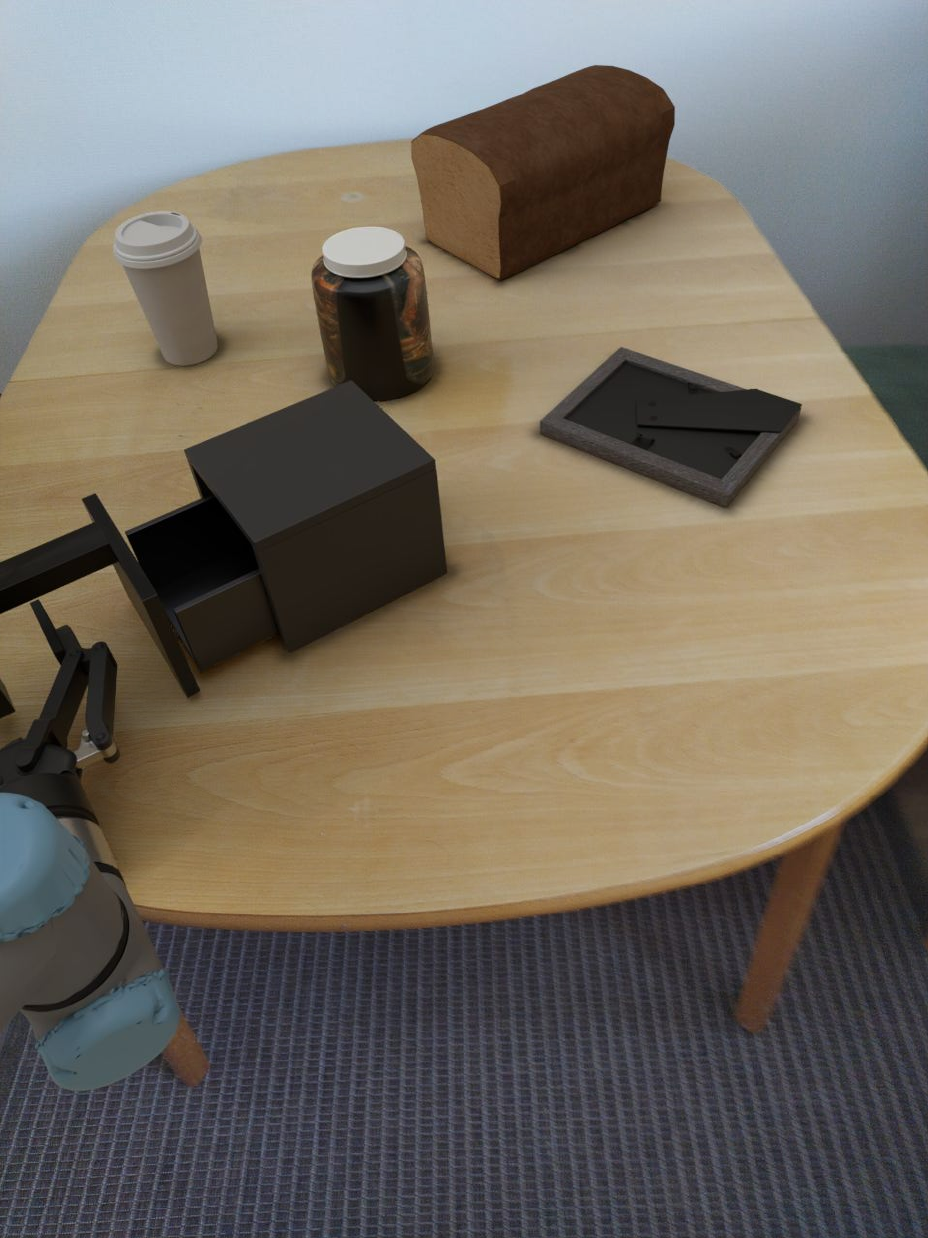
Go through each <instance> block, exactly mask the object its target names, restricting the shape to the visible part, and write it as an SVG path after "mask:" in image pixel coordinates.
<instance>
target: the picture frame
mask: <svg viewBox="0 0 928 1238" xmlns="http://www.w3.org/2000/svg"><path fill="white" fill-rule="evenodd" d="M802 405H803V404H802V403H800V402H797V401H794V400H792V399H788V398H785V397H782V396H779V395H776V394H773V393H770V392H767V391H764V390H762V389H758V388H748V389H747V388H744V387H741V386H738V385H736V384H732V383H729V382H727V381H724V380H721V379H718V378H714V377H712V376H708V375H705V374H703V373H701V372H700V373H699V372H697V371H694V370H692V369H688V368H685V367H681V366H679V365H676V364H673V363H670V362H667V361H665V360H661V359H658V358H656V357H652V356H649V355H646V354H643V353H641V352H637V351H634V350H631V349H628V348H625V347H622V346H620V347H619V348H618V349H617V350H615V351H614V352H613V354H612V355H610V356H609V357H608V358H607V359H606V360H605V361H604V362H603V363H601V364H600V365H599V366H597V368H596V369H595V370H594V371H593V372H591V374H590V375H589V376H587V378H586V379H585V378H584V380H583V381H582V382H581V383H580V384H579V385H577V387H575V388H574V389H573V390H572V391H571V392H570V393H569V394H567V396H565V397H564V399H562V400H561V401H560V402H559V403H558V404H557V405H555V407H553V409H551V410H550V411H549V412H548V413H547V414H546V415H544V417H542V419H541V420H539V434H540V435H543V436H545V437H547V438H550V439H552V440H555V441H558V442H559V443H562V444H565V445H567V446H570V447H573V448H575V449H578V450H580V451H582V452H584V453H588V454H590V455H592V456H594V457H598V458H600V459H603V460H604V461H608V462H610V463H613V464H615V465H618V466H620V467H622V468H625V469H628V470H630V471H632V472H635V473H637V474H639V475H643V476H645V477H647V478H649V479H652V480H655V481H658V482H659V483H662V484H665V485H668V486H670V487H672V488H675V489H678V490H680V491H683V492H685V493H688V494H690V495H693V496H695V497H698V498H700V499H702V500H705V501H707V502H710V503H712V504H715V505H718V506H720V507H722V508H725V509H727V508H728V507H729V505H730V504H731V503H732V501H733V500H734V499H735V498H736V497H737V496H738V495H739V493H740V492H741V491H742V489H743V488H744V487H745V486H746V485H747V483H748V482H749V481H750V480H751V478H752V477H754V475H755V473H756V472H757V471H758V470H759V469H760V468H761V466H762V465H763V464H764V463H765V461H766V460H767V459H768V458H769V457H770V455H772V453H773V452H774V451H775V449H776V448H777V447H778V446H779V445H780V443H782V441H783V439H784V438H785V437H786V436H787V435H788V433H789V432H790V431H791V430H792V429H793V428H794V426H795V425H796V424H797V422H798V421H799V420H800V419H799V418H800V415H801V411H802Z"/></svg>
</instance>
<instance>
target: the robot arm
mask: <svg viewBox="0 0 928 1238" xmlns="http://www.w3.org/2000/svg"><path fill="white" fill-rule="evenodd" d="M29 605H30V607H31V609H32V612H33V614H34V616H35V618H36V620H37V622H38V624H39V626H40V628H41V630H42V632H43V635H44V637H45V639H46V641H47V643H48V645H49V648H50V649H51V652H52V653H53V655H54V657H55V659H56V660H57V662H58V664H59V665H60V667H59V669H58V671H57V673H56V676H55V678H54V681H53V684H52V686H51V688H50V691H49V693H48V696H47V697H46V700H45V701H44V702H45V703H44V705H43V707H42V710H41V712H40V715H39V717H38V718H35V719H33V720H32V723H31V725H30V727H29V729H28V732H27V735H26V737H25V738H23V737H22V736H20V737H18V738H16V739H14V740H12V741H10V742H9V743H7V744H6V745H4V746H3V747H2V748H0V1033H1V1032H2V1031H3V1030H4V1029H5V1027H6V1026H7V1025H8V1024H9V1023H10V1022H11V1021H12V1020H13V1018H15V1016H17V1015H18V1014H19V1012H20V1013H21V1014H23V1015H24V1017H25V1018H26V1019H27V1021H28V1022H29V1024H30V1026H31V1029H32V1031H33V1035H34V1038H35V1044H34V1049H35V1052H37V1053H38V1054H39V1055H40V1056H41V1058H42V1060H43V1063H44V1065H45V1067H46V1070H47V1071H48V1074H49V1076H50V1078H51V1080H52V1082H54V1083H55V1085H57V1086H58V1087H59V1088H61V1089H64V1090H68V1091H73V1092H84V1091H91V1090H96V1089H97V1090H98V1089H100V1088H104V1087H106V1086H109V1085H112V1084H115V1083H116V1082H119V1081H121V1080H124V1079H125V1078H127V1077H129V1076H131V1075H132V1074H134V1073H136V1072H137V1071H139V1070H141V1068H143V1067H145V1066H147V1065H148V1064H149V1063H150V1062H152V1061H153V1060H154V1059H156V1057H158V1056H159V1055H160V1054H161V1053H162V1052H163V1051H164V1050H165V1049H166V1048H167V1047H168V1045H169V1044H170V1043H171V1041H172V1040H173V1038H174V1037H175V1035H176V1033H177V1031H178V1029H179V1026H180V1020H181V1010H180V1009H181V1008H180V1005H179V1003H178V1001H177V997H176V995H175V993H174V990H173V987H172V984H171V981H170V977H171V974H170V972H169V970H168V969H165V967H164V965H163V963H162V961H161V959H160V957H159V954H158V952H157V951H156V948H155V947H154V944H153V942H152V940H151V937H150V935H149V933H148V931H147V928H146V926H145V923H143V922H144V921H143V920H142V918H141V915H140V914H139V912H138V909H137V908H136V905H135V903H134V901H133V900H132V897H131V895H130V893H129V891H128V887H127V886H126V885H127V884H126V882H125V880H124V877H123V875H122V873H121V871H120V869H119V866H118V864H117V862H116V859H115V857H114V855H113V852H112V850H111V848H110V846H109V843H108V840H107V839H106V837H105V836H106V835H105V834H104V831H103V829H102V828H101V827H100V822H99V820H98V818H97V815H96V813H95V811H94V808H93V806H92V804H91V801H90V800H89V797H88V795H87V792H86V790H85V788H84V786H83V784H82V775H83V770H84V768H87V767H88V766H90V765H93V764H95V763H97V762H99V761H101V760H103V761H104V762H105V763H106V764H114V763H116V762H117V761H118V760H120V758H121V751H120V748H119V746H118V744H117V742H116V740H115V737H114V733H115V731H114V730H115V716H116V700H117V699H116V698H117V684H118V683H117V682H118V667H119V665H118V662H117V660H116V658H115V656H114V655H113V653H112V651H111V649H110V647H109V645H108V643H107V642H106V641H103V640H102V641H97V642H95V643H94V644H93V645H92V646H91V647H89V648H84V647H82V645H81V643H80V641H79V640H78V637H77V636H76V634H75V632H74V630H73V628H72V627H71V626H70V625H68V624H64V625H61V626H59V627H57V628H56V627H55V625H54V622H53V621H52V619H51V618H50V616H49V614H48V613H47V611H46V609H45V608H44V606H43V604H42V602H41V600H40V598H37V599H34V600H32V601H30V602H29ZM86 691H87V692H86ZM85 694H86V702H85V705H86V706H85V714H84V715H85V716H84V718H85V719H84V721H85V722H84V723H85V726H86V729H84V730H83V731H82V732H81V738H80V744H79V747H78V748H76V750H74V751H73V750H71V749H70V748H69V749H68V747H69V742H68V741H69V740H68V739H69V735H70V732H71V729H72V727H73V725H74V722H75V720H76V717H77V714H78V712H79V709H80V707H81V704H82V701H83V699H84V696H85Z"/></svg>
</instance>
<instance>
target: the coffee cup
mask: <svg viewBox="0 0 928 1238" xmlns="http://www.w3.org/2000/svg"><path fill="white" fill-rule="evenodd" d="M202 243H203V238H202V235H201V234H200V232H199V230H198V229H197V228H196V226H195V225H194V224H193V223H191V222H190V220H189V218H188V217H187V216H186V215H185V214H182V213H180V212H177V211H172V210H171V211H170V210H160V211H159V210H157V211H150V212H145V213H142V214H138V215H136V216H133V217H130V218H129V219H127V220H126V221H124V222H122V223H121V224H120V225H119V226H118V227H117V228H116V229H115V232H114V241H113V247H112V251H113V259H114V260H115V261H116V262H117V263H118V264H120V265H122V268H123V271H124V272H125V274H126V277H127V279H128V281H129V283H130V285H131V288H132V290H133V292H134V294H135V296H136V299H137V301H138V302H139V305H140V307H141V310H142V312H143V314H144V316H145V320H146V321H147V323H148V325H149V327H150V330H151V332H152V334H153V337H154V339H155V341H156V343H157V345H158V348H159V350H160V352H161V354H162V357H163V359H164V360H165V361H166V362H167V363H168V364H170V365H174V366H182V367H183V366H184V367H185V366H186V367H187V366H193V365H196V364H200V363H203V362H205V361H208V360H209V359H211V358H212V357H213V356H214V355H215V354H216V353H217V351H218V348H219V343H218V337H217V334H216V328H215V323H214V318H213V313H212V307H211V303H210V297H209V292H208V287H207V282H206V276H205V272H204V266H203V261H202V254H201V250H200V247H201V246H202Z"/></svg>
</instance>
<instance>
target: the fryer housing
mask: <svg viewBox="0 0 928 1238" xmlns="http://www.w3.org/2000/svg"><path fill="white" fill-rule="evenodd" d="M183 452H184V455H185V458H186V459H187V463H188V467H189V469H190V473H191V475H192V477H193V480H194V483H195V486H196V489H197V491H198V495H199V498H200V499H201V498H203V497H205V496H208V495H210V494H212V493H213V494H214V495H215V497H216V498H217V499H218V501H219V502H220V503H221V505H222V506H223V507H224V509H225V510H226V511H227V513H228V514H229V515H230V517H231V518H232V519H233V521H234V522H235V523H236V525H237V526H238V527H239V529H240V530H241V531H242V533H243V534H244V535H245V537H246V538H247V539H248V541H249V542H250V543H251V545H252V547H253V551H254V554H255V557H256V560H257V563H258V566H259V570H260V573H261V576H262V579H263V582H264V585H265V589H266V592H267V595H268V598H269V601H270V604H271V608H272V611H273V614H274V617H275V620H276V623H277V626H278V630H279V634H277V635H275V636H276V638H277V639H278V640H279V642H280V644H281V645H282V646H283V648H284V649H285V650H286V652H287V653H288V654H291V653H293V652H295V651H297V650H299V649H301V648H303V647H305V646H307V645H308V644H311V643H313V642H315V641H316V640H319V639H320V638H322V637H324V636H326V635H329V634H330V633H332V632H334V631H336V630H338V629H340V628H342V627H344V626H346V625H348V624H350V623H351V622H354V621H356V620H358V619H360V618H362V617H363V616H366V615H367V614H369V613H371V612H374V611H375V610H377V609H379V608H381V607H383V606H385V605H387V604H389V603H391V602H393V601H395V600H397V599H398V598H401V597H403V596H405V595H407V594H408V593H411V592H413V591H415V590H416V589H418V588H420V587H422V586H424V585H426V584H428V583H430V582H433V581H434V580H436V579H438V578H440V577H442V576H443V575H445V574H447V573H448V569H447V567H448V566H447V559H446V547H445V539H444V530H443V529H444V528H443V520H442V510H441V500H440V491H439V481H438V473H437V472H438V471H437V463H436V459H435V457H433V456H432V455H431V454H430V453H429V452H428V451H426V449H425V448H424V447H423V446H421V444H419V442H417V440H415V439H414V438H413V437H412V436H411V435H410V434H409V433H408V432H407V431H406V430H405V429H404V428H402V426H401V425H399V423H397V422H396V421H395V420H394V419H393V417H391V416H390V415H389V414H388V413H387V412H386V411H385V410H384V409H383V408H382V407H380V405H378V403H376V402H375V400H372V399H371V398H370V397H369V396H368V395H367V394H365V393H364V392H363V391H362V390H361V389H360V388H359V387H358V386H357V385H356V384H355V383H354V382H353V381H352V380H351V381H348V382H346V383H344V384H341V385H339V386H336V387H334V386H333V387H332V388H329V389H327V390H324V391H321V392H320V393H316V394H314V395H313V396H309V397H307V398H305V399H303V400H300V401H297V402H296V403H293V404H291V405H288V406H286V407H283V408H281V409H279V410H276V411H273V412H271V413H269V414H267V415H264V416H262V417H259V418H256V419H255V420H252V421H250V422H246V423H244V424H242V425H240V426H237V427H234V428H233V429H231V430H228V431H225V432H223V433H221V434H218V435H216V436H213V437H211V438H209V439H206V440H203V441H201V442H199V443H197V444H194V445H192V446H189V447H186V448H185V449H183Z"/></svg>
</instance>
